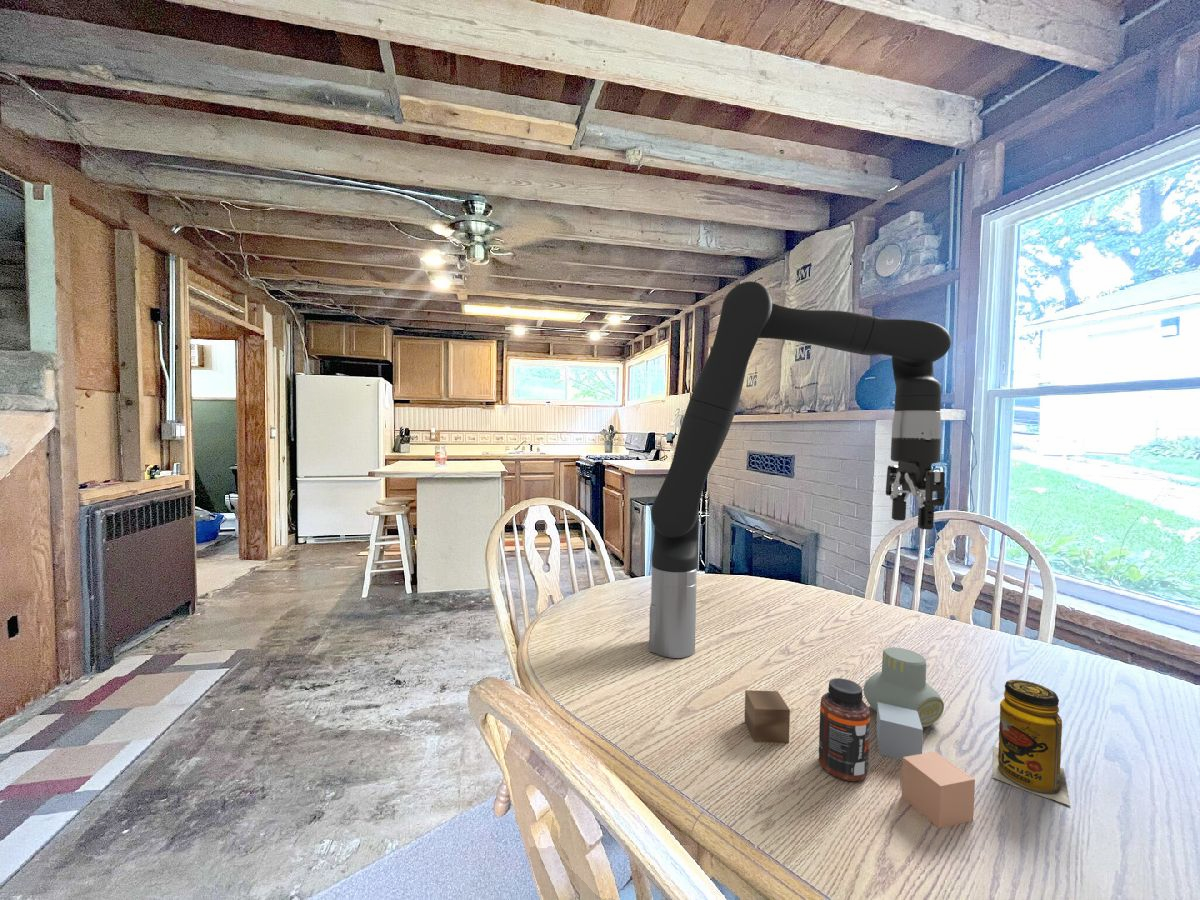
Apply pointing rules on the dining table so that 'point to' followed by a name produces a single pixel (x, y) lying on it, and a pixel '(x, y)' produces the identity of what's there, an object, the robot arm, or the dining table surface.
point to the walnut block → (767, 716)
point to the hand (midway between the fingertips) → (911, 524)
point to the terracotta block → (938, 789)
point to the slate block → (898, 731)
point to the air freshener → (904, 685)
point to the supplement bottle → (844, 731)
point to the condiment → (1030, 741)
